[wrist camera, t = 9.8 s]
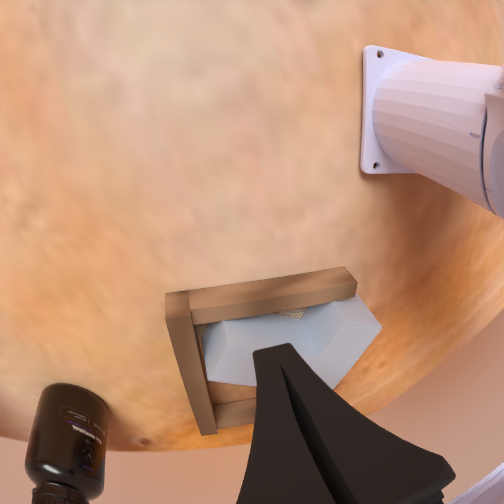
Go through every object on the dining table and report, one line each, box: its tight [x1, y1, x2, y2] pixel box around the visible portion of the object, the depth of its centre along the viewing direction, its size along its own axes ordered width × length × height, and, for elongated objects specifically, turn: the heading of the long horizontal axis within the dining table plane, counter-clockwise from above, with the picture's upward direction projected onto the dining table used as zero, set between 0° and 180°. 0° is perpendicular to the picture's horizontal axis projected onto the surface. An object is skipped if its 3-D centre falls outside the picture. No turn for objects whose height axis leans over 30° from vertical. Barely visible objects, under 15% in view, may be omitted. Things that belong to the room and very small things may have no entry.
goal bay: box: [165, 267, 358, 436], centre depth 23 cm, size 12×14×2 cm
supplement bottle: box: [25, 383, 108, 504], centre depth 18 cm, size 7×7×12 cm
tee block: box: [202, 294, 382, 390], centre depth 22 cm, size 10×10×4 cm
